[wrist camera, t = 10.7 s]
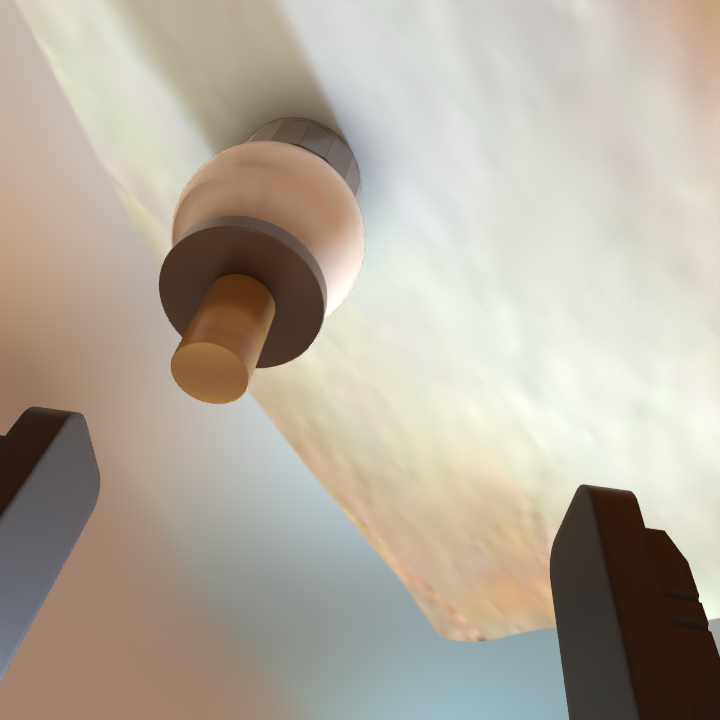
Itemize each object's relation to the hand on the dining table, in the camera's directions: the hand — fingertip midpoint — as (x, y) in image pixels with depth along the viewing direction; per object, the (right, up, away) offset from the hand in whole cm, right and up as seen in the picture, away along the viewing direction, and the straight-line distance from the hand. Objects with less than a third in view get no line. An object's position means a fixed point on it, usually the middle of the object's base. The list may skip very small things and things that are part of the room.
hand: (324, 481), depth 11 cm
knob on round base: (-4, +5, +16) cm, 18 cm away
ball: (-4, +8, +20) cm, 22 cm away
